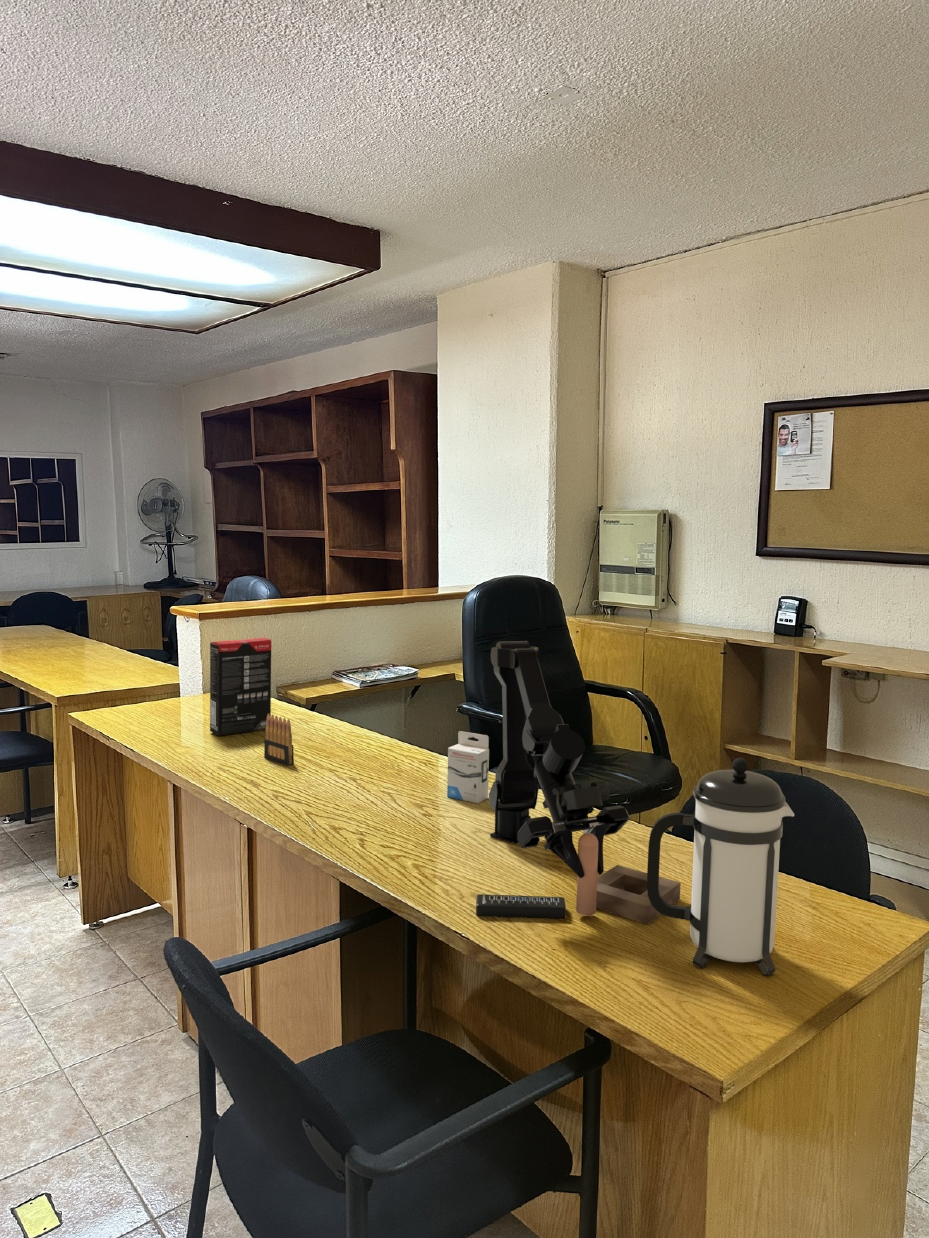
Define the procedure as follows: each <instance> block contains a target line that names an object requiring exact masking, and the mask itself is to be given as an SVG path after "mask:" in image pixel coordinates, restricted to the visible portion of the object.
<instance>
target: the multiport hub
mask: <svg viewBox="0 0 929 1238" xmlns="http://www.w3.org/2000/svg"><path fill="white" fill-rule="evenodd" d="M475 903H476V905H475V916H476V917H480V918H481V917H482V918H504V919H505V918H506V919H507V918H509V919H532V920H533V919H534V920H535V919H536V920H539V919H541V920H566V914H567V913H566V912H567V909H566V908H567V907H566V899H565V897H563V896H545V895H544V896H540V895H539V896H538V895H510V894H509V895H508V894H486V893H485V894H484V893H483V894H481V893H479V894H477V895H476V901H475Z"/></svg>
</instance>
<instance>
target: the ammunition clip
mask: <svg viewBox="0 0 929 1238" xmlns="http://www.w3.org/2000/svg"><path fill="white" fill-rule="evenodd" d="M291 725H292V724H291V720H290V718H288V719H286V717H284V718H282V717H281V716H279V718H278V715H275V716H274V714H272V713H271V718H270V714H269V713H268V715H267V720H266V729H265V738H264V741H263V742H264V749H263V750H264V753H263V754H264V757H263V758H264V759H266V760H269V761H271V762H275V763H279V764H281V765H284V766H286V767H289V766H293V765H295V761H294V760H295V759H294V756H295V755H294V754H295V753H294V744H293V734H292V726H291Z"/></svg>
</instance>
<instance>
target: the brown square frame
mask: <svg viewBox="0 0 929 1238" xmlns="http://www.w3.org/2000/svg"><path fill="white" fill-rule="evenodd" d="M681 885H682V882H680V881H677V880H673V879H669V878H665V877H661V876H659V894H660V896H661V898H662V899H663V900H664V901H665V902H666V903H668V904H671V905H675V904H676V903H677V902H679V901H680V900H681ZM678 900H679V901H678ZM674 903H675V904H674ZM596 909H599V910H602V911H604V912H608V913H610V914H614V915H617V916H620V917H623V918H627V919H629V920H633V921H635V920H636V922H639V923H642V924H646V925H649V924H650V923H652V922H653V921H654V920H656V919H657V918H658V917H660V916H661V915H662V914H661V913H659V912H658V911H657V910H656V909H655V908H654V907H653V906H652V904H651V902H650V900H649V897H648V892H647V872H644V871H641V870H637V869H633V868H630V867H627V866H623V865H619V864H616V865H614V867H612V868H610V869H609V870H607V871H606V872H605V871H604V872H603V873H602V874H601V875H599V876H597V900H596Z"/></svg>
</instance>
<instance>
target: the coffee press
mask: <svg viewBox="0 0 929 1238" xmlns="http://www.w3.org/2000/svg"><path fill="white" fill-rule="evenodd" d="M731 766H732V769H718V770H714V771H710V772H708V773H705V774H704V775H702V776H701V778H699V780H698V782H697V784H696V785H695V786H694V787H693V793H692V795H693V797H694V799H695V810H694V811H693V814H688V813H683V812H670V813H667V814H665V815H662V816H661V817H660V818H658V819H657V820H656V821H655V823H654V824H653V825H652V828H651V831H650V833H649V839H648V849H647V851H648V852H647V871H646V873H647V892H648V897H649V900H650V902H651V904H652V906H653V907H654V908H655V909H656V910H657V911H658V912H659V913H661V915H663V916H665V917H668V918H672V919H677V920H684V921H688V922H689V923H690V927H689V929H690V930H689V932H690V939H691V940H692V942H693V944H694V946H696V947H697V949H696V951H695V953H694V956H693V958H692V964H693V965H694V966H696V967H698V968H700V969H705V968H706V966H707V964H708V963H709V961H710V960H712V959H713V958H716V959H720V960H723V961H727V962H734V963H751V962H752V963H753V962H754V964H756V966H757V967H758V969H759V971H760V972H761V974H762V975H763V976H765V977H769V976H770V975H774V974H775V973H776V967H775V964H774V962H773V960H772V958H771V953H772V952H773V949H774V946H775V934H776V922H777V921H776V920H777V919H776V918H777V917H776V916H777V905H778V904H777V903H778V902H777V901H778V886H779V885H778V884H779V883H778V882H779V868H780V867H779V866H780V864H779V863H780V852H781V851H780V848H781V838H782V837H783V827H784V822H783V818H784V817H792V818H793V817H795V812H794V811H793V810H792V808H791V807H790V806H789V804H788V803H787V802H786V796H785V795H784V793H783V791H782V789H781V787H780V786H779V784H778V782H776V781H774V780H773V779H772V778H770V777H768V776H766V775H763V774H762V773H757V772H754V771H749V770H748V769H749V767H750V765H749V764H748V761H747V760H746V759H745V758H742V757H737V758H734V760H733V762H732V763H731ZM676 826H680V827H682V826H693V829H694V834H693V835H694V836H693V853H692V854H693V855H692V856H693V858H692V880H691V882H692V883H691V901H690V905H688V906H683V905H675V904H673V905H671V904H668V903H666V902H665V901H664V900H663V899H662V898H661V896H660V894H659V877H660V861H661V860H660V859H661V857H660V856H661V841H662V837H663V835H664V834H665V832H667V830H668V829H669V828H673V827H676ZM762 959H763V960H762Z"/></svg>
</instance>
